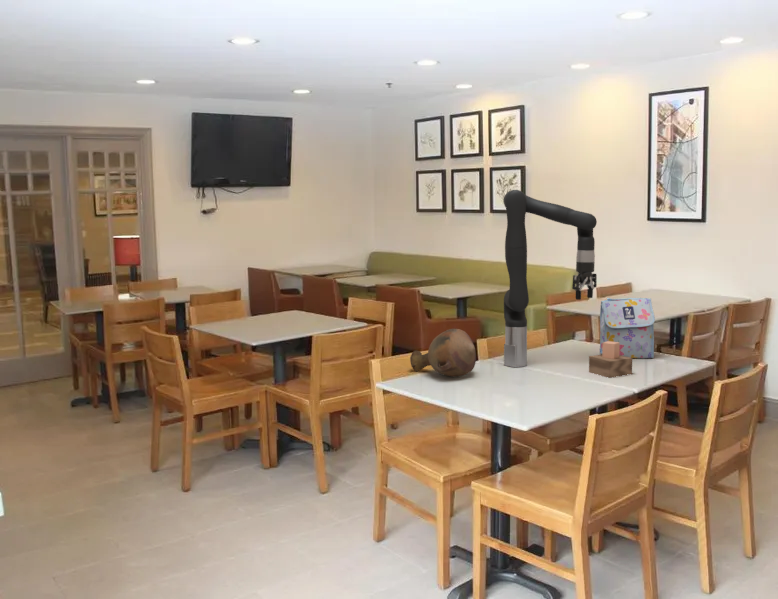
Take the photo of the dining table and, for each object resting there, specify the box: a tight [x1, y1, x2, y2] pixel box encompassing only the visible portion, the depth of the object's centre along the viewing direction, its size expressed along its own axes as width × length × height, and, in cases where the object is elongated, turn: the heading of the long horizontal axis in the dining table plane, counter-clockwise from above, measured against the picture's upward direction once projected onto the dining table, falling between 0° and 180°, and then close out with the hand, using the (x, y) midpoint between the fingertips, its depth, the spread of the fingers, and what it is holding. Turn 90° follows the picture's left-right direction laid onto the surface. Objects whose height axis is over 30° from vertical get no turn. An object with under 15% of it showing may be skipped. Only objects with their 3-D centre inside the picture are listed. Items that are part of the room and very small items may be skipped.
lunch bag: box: [599, 297, 656, 359], centre depth 346 cm, size 22×17×26 cm
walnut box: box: [588, 353, 633, 379], centre depth 316 cm, size 12×12×7 cm
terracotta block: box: [602, 341, 620, 359], centre depth 315 cm, size 5×5×6 cm
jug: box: [409, 328, 477, 378], centre depth 320 cm, size 20×20×30 cm
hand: (584, 298), depth 329 cm, fingers open, 8 cm apart
